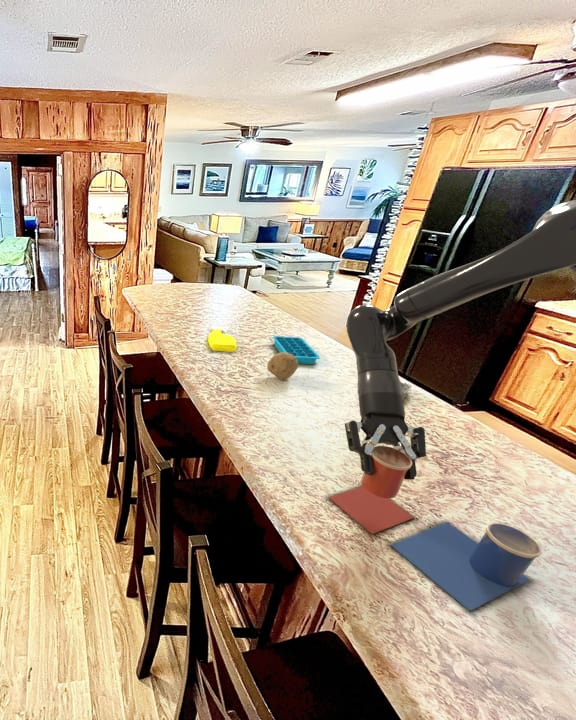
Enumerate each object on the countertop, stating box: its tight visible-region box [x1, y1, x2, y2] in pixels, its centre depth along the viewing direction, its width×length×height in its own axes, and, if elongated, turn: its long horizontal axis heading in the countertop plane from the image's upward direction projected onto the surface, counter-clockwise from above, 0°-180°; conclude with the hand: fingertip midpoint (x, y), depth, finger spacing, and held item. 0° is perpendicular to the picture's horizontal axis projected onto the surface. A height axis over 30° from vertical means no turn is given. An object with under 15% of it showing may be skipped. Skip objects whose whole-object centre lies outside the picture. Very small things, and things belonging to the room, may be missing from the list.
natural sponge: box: [267, 352, 299, 381], centre depth 131 cm, size 9×9×10 cm
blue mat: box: [390, 521, 530, 612], centre depth 70 cm, size 16×13×1 cm
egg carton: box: [400, 380, 412, 399], centre depth 123 cm, size 11×8×4 cm
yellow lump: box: [207, 326, 238, 353], centre depth 163 cm, size 3×11×24 cm
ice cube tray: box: [272, 335, 321, 365], centre depth 151 cm, size 12×20×3 cm, turn 173°
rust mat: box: [328, 485, 415, 535], centre depth 81 cm, size 12×10×1 cm
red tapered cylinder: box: [360, 445, 412, 499], centre depth 77 cm, size 7×7×8 cm
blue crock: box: [469, 522, 543, 586], centre depth 67 cm, size 7×7×8 cm
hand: (389, 476), depth 76 cm, fingers closed on red tapered cylinder, 6 cm apart
